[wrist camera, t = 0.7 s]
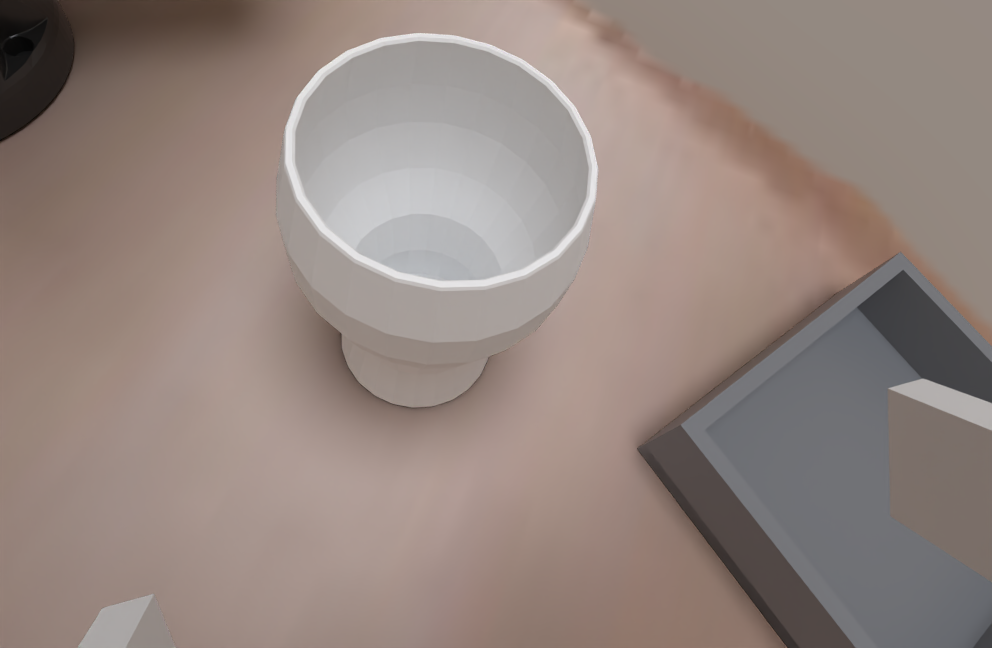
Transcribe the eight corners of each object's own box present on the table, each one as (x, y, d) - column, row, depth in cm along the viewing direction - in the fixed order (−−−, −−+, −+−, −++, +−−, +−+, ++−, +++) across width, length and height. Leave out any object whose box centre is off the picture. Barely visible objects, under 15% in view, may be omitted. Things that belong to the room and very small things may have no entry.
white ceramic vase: (356, 223, 34) (343, -22, 20) (537, 283, 34) (641, 84, 21) (277, 398, 29) (192, 232, 16) (486, 464, 30) (578, 359, 16)
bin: (637, 448, 32) (680, 424, 27) (838, 292, 38) (900, 251, 34) (882, 772, 28) (982, 808, 23) (1061, 536, 34) (1166, 527, 29)
